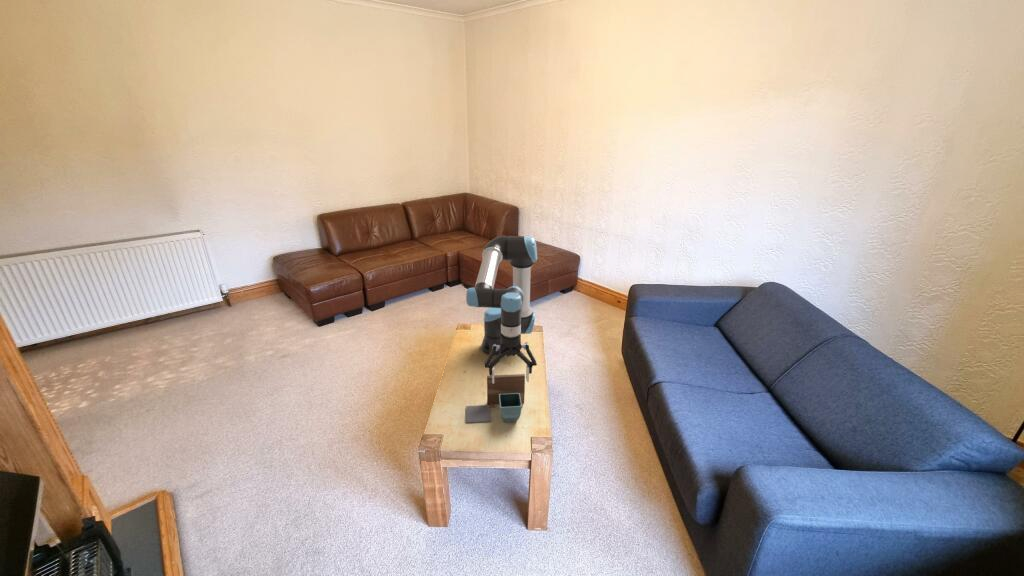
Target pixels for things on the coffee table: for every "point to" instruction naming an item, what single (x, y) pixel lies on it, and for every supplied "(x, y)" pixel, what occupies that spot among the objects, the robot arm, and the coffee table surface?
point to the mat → (478, 414)
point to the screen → (504, 387)
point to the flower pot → (510, 406)
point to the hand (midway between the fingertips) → (510, 380)
